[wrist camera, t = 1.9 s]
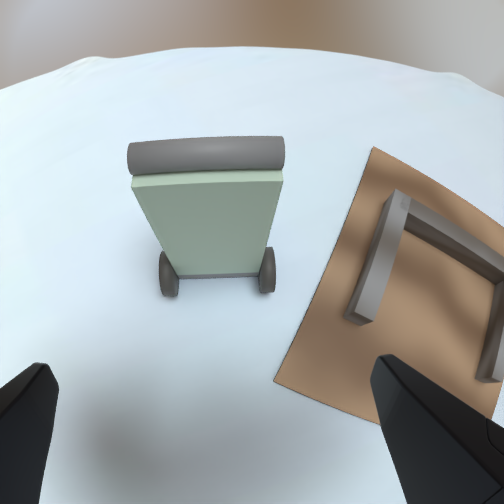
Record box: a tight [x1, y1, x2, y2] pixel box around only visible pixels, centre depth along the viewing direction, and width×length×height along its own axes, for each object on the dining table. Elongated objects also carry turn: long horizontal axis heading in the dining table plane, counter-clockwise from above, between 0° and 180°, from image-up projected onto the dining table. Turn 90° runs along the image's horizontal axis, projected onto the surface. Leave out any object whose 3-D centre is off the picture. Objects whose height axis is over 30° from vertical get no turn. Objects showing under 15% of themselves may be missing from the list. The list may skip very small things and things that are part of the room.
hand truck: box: [127, 136, 285, 296], centre depth 17 cm, size 6×7×13 cm
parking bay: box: [274, 146, 504, 425], centre depth 22 cm, size 22×20×3 cm
